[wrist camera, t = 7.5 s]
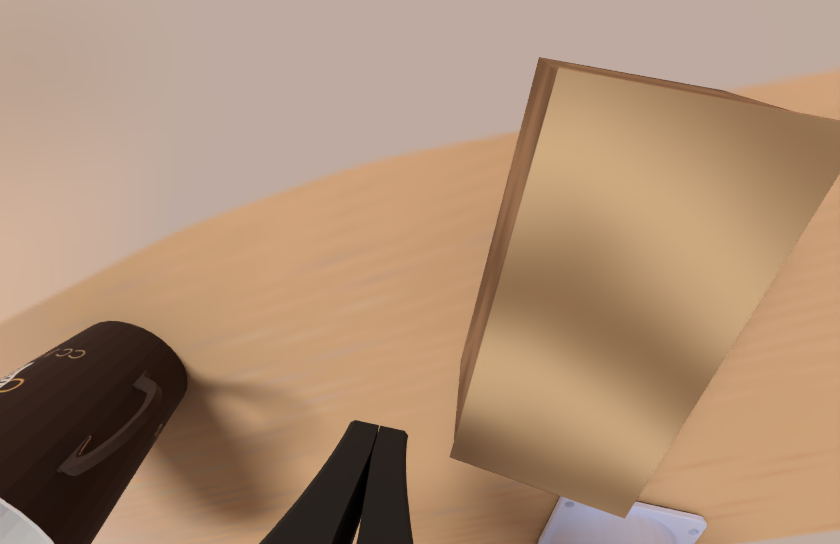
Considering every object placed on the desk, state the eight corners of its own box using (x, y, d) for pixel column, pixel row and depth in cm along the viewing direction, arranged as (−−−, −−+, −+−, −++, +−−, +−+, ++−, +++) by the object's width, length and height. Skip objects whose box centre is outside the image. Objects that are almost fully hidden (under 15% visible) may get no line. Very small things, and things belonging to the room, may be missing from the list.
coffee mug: (100, 419, 29) (-66, 588, 21) (34, 304, 25) (-207, 453, 17) (271, 425, 27) (168, 614, 19) (229, 302, 23) (73, 469, 15)
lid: (623, 504, 17) (624, 518, 17) (452, 445, 19) (449, 457, 18) (853, 123, 10) (867, 127, 10) (559, 67, 12) (558, 68, 11)
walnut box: (587, 387, 23) (610, 474, 18) (460, 361, 23) (453, 439, 19) (722, 90, 16) (809, 116, 12) (539, 57, 16) (556, 70, 12)
